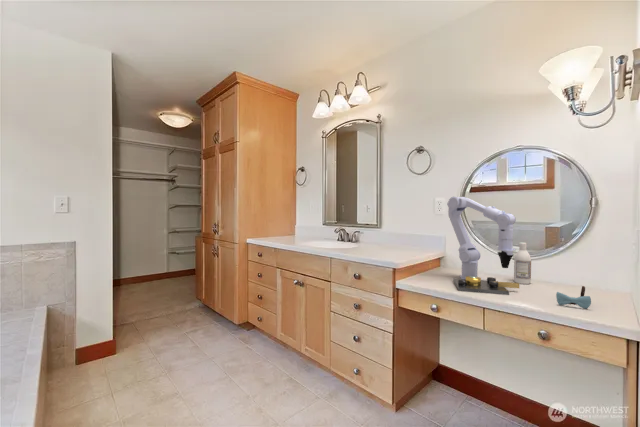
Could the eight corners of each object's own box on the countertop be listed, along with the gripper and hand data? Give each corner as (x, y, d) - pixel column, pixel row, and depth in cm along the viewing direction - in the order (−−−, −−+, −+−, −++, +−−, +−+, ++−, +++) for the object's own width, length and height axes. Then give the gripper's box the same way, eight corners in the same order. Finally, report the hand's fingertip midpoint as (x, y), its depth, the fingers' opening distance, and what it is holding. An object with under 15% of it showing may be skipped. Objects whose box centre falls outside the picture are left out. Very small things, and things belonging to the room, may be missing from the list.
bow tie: (556, 305, 113) (556, 292, 112) (555, 304, 114) (556, 291, 114) (591, 310, 107) (592, 297, 107) (590, 309, 108) (590, 296, 108)
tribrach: (453, 281, 148) (453, 271, 148) (497, 284, 142) (498, 274, 142) (458, 290, 132) (458, 280, 131) (509, 294, 126) (509, 283, 125)
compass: (559, 298, 121) (560, 281, 121) (585, 302, 116) (585, 284, 115) (557, 303, 115) (557, 284, 115) (584, 308, 110) (584, 289, 110)
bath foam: (533, 284, 141) (534, 243, 140) (517, 284, 142) (518, 243, 141) (526, 281, 148) (527, 242, 147) (511, 280, 149) (512, 241, 148)
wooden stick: (490, 287, 131) (490, 282, 131) (488, 284, 135) (488, 280, 135) (520, 289, 128) (520, 284, 128) (517, 286, 131) (517, 282, 131)
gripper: (521, 241, 127) (520, 271, 128) (510, 237, 141) (509, 265, 142) (502, 240, 130) (502, 270, 130) (493, 237, 143) (493, 264, 144)
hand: (504, 267), depth 136 cm, fingers closed
